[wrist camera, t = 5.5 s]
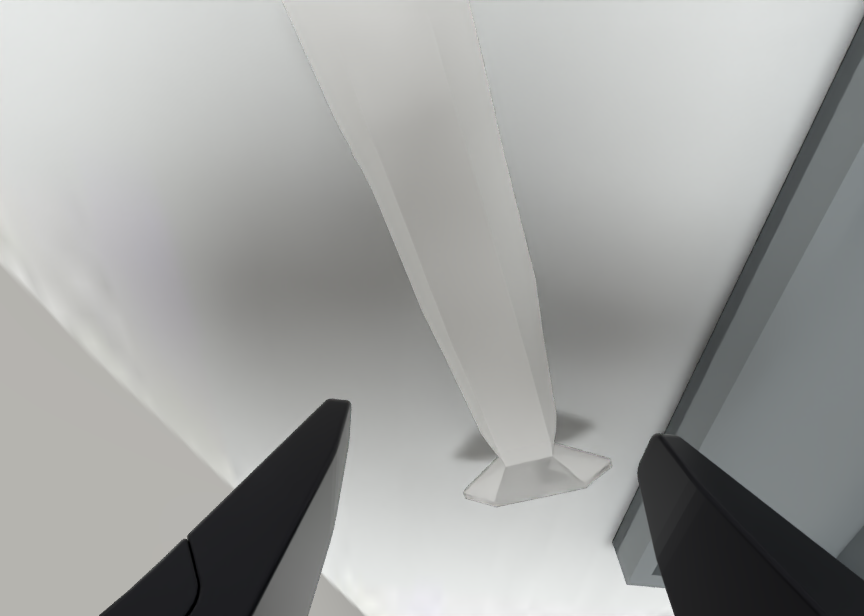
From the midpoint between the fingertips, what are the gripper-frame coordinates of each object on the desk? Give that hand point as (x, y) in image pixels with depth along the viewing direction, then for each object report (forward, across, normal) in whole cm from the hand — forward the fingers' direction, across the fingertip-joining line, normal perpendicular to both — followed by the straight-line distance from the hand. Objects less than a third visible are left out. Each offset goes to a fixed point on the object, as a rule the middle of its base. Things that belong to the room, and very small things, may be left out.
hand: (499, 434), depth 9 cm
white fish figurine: (+8, 0, 0) cm, 8 cm away
